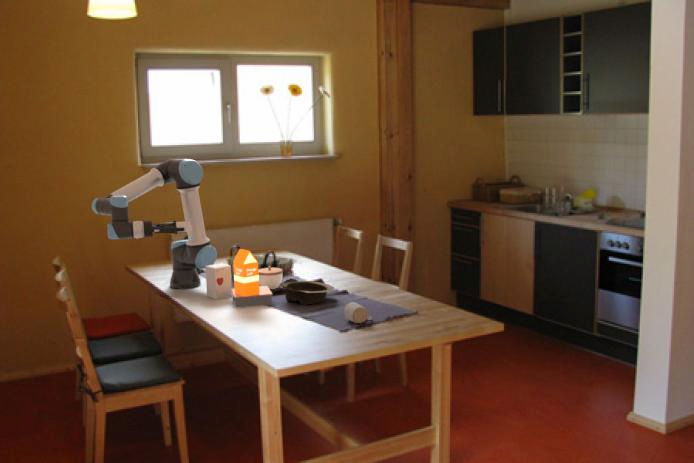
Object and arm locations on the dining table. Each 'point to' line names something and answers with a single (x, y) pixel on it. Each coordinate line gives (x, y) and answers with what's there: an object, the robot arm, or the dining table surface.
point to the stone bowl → (305, 291)
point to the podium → (253, 298)
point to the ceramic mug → (356, 313)
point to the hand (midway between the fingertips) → (191, 226)
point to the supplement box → (218, 281)
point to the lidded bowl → (270, 277)
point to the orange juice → (246, 273)
